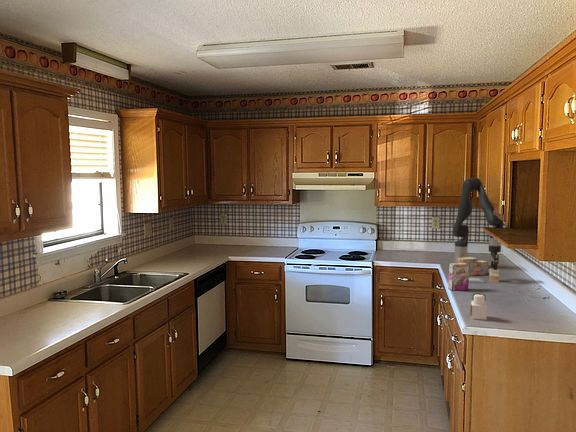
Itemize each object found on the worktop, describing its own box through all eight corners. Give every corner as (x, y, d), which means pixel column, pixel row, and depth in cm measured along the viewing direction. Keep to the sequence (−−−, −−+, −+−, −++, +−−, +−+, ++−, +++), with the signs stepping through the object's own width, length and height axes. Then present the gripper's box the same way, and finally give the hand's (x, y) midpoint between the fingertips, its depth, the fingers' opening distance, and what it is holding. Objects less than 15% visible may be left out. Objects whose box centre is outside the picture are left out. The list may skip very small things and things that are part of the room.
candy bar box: (452, 291, 294) (452, 264, 292) (448, 289, 299) (448, 263, 297) (468, 290, 296) (469, 264, 294) (464, 288, 300) (465, 262, 299)
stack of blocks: (482, 272, 347) (482, 256, 345) (487, 274, 341) (488, 257, 339) (456, 274, 341) (457, 257, 340) (461, 276, 335) (462, 259, 334)
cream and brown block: (489, 280, 323) (489, 268, 322) (497, 280, 322) (497, 268, 321) (490, 281, 318) (491, 270, 317) (498, 282, 317) (499, 270, 316)
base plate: (463, 278, 328) (463, 276, 327) (481, 279, 325) (481, 277, 325) (465, 282, 316) (465, 280, 316) (484, 283, 313) (485, 281, 313)
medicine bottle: (470, 314, 245) (471, 291, 243) (485, 316, 243) (486, 292, 241) (471, 319, 238) (472, 295, 237) (486, 320, 236) (487, 296, 235)
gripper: (486, 243, 325) (486, 266, 326) (490, 246, 311) (490, 270, 312) (498, 243, 323) (497, 267, 325) (503, 246, 310) (502, 271, 311)
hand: (494, 268), depth 319 cm, fingers open, 8 cm apart
